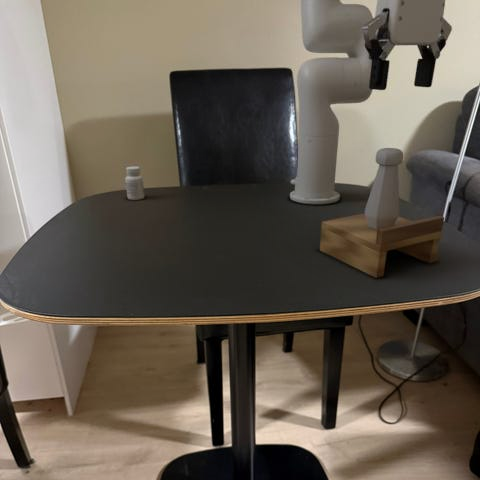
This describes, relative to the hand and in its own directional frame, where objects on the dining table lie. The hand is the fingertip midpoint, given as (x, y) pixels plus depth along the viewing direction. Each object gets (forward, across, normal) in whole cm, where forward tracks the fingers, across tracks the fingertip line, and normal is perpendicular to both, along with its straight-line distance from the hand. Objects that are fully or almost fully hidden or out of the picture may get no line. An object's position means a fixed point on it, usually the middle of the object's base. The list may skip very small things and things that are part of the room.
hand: (400, 88), depth 76 cm
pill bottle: (+28, +27, -61) cm, 72 cm away
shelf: (+27, +2, +2) cm, 28 cm away
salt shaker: (+22, +2, +2) cm, 22 cm away
